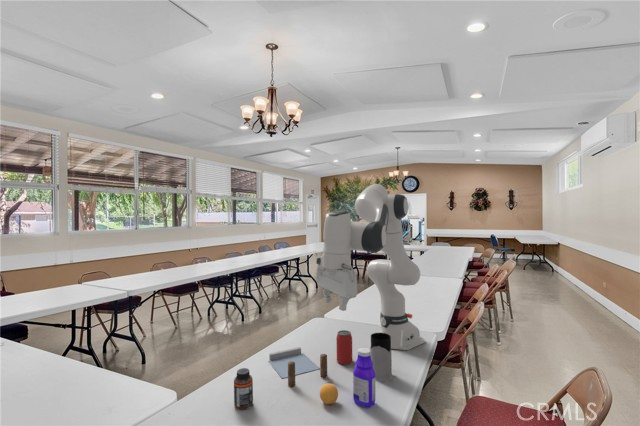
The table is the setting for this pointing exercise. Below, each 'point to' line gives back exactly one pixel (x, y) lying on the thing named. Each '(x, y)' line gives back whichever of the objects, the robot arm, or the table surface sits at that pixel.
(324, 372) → the right post
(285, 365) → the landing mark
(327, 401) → the ball
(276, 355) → the stopper wall
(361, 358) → the bottle
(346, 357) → the beer can
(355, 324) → the table surface
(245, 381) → the supplement bottle
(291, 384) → the left post
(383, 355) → the glass holder
